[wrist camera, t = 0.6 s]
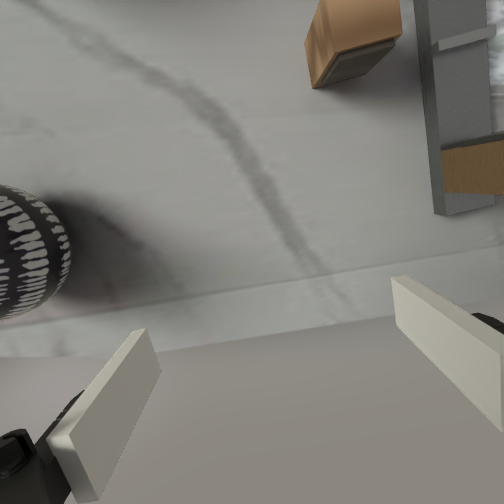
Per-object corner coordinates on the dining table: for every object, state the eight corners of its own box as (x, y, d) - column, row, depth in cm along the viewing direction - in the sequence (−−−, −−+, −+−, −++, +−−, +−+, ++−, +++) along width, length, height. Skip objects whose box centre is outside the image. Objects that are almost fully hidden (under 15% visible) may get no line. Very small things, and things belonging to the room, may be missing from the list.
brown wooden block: (304, 43, 34) (324, -13, 24) (354, 29, 33) (395, -34, 24) (313, 93, 35) (335, 59, 25) (361, 80, 35) (403, 41, 25)
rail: (409, -39, 32) (505, -176, 20) (464, -56, 31) (596, -206, 19) (434, 213, 38) (517, 228, 26) (479, 202, 38) (585, 212, 26)
